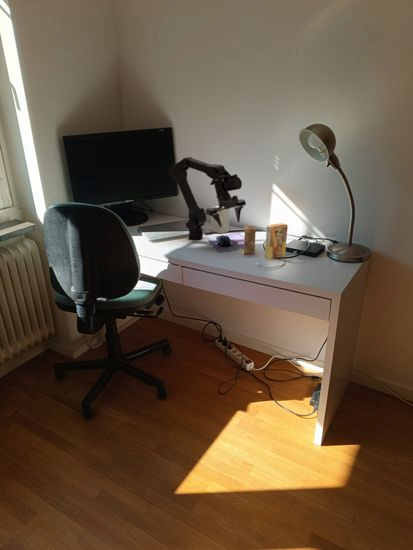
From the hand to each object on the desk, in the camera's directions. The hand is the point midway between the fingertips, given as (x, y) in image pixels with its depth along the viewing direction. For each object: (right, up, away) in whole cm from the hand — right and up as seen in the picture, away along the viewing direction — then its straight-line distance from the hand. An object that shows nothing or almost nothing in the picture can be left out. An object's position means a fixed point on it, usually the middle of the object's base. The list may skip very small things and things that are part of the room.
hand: (230, 224), depth 200 cm
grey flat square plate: (+9, -14, -2) cm, 17 cm away
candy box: (+21, -16, -6) cm, 27 cm away
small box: (-4, 0, +27) cm, 27 cm away
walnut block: (+9, -14, -2) cm, 16 cm away
